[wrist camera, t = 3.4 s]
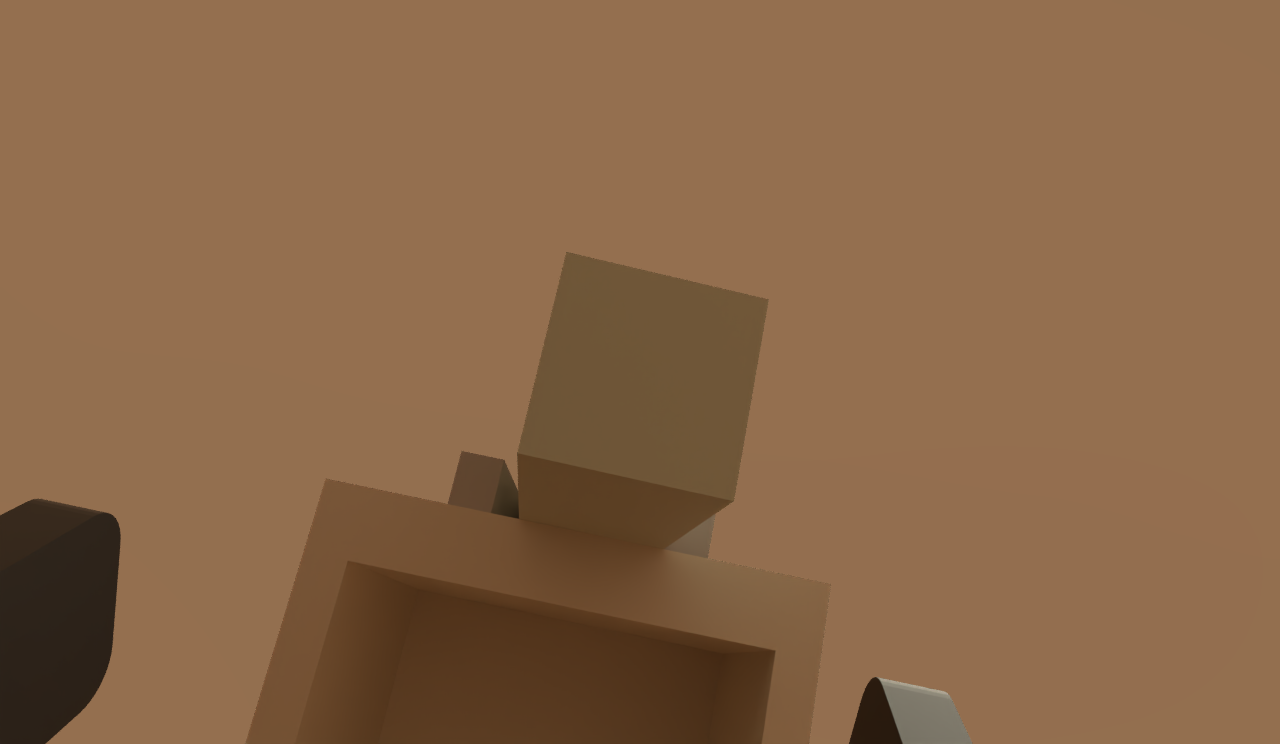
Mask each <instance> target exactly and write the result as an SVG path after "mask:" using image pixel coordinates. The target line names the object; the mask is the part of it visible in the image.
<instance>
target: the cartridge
mask: <svg viewBox="0 0 1280 744" xmlns="http://www.w3.org/2000/svg"><path fill="white" fill-rule="evenodd" d="M767 305H768V299H764V298H760V297H756V296H751V295H747V294H743V293H739V292H735V291H730V290H726V289H722V288H717V287H713V286H709V285H705V284H700V283H696V282H692V281H688V280H683V279H679V278H674V277H671V276H666V275H662V274H658V273H653V272H649V271H645V270H641V269H637V268H632V267H628V266H624V265H620V264H615V263H611V262H607V261H603V260H598V259H594V258H590V257H585V256H581V255H577V254H573V253H568V252H566V256H565V260H564V264H563V268H562V272H561V276H560V280H559V285H558V289H557V293H556V297H555V301H554V306H553V309H552V313H551V317H550V321H549V325H548V330H547V334H546V338H545V342H544V346H543V350H542V354H541V358H540V362H539V366H538V370H537V375H536V379H535V383H534V387H533V391H532V395H531V399H530V403H529V407H528V411H527V415H526V420H525V424H524V428H523V432H522V436H521V440H520V444H519V449H518V452H517V459H518V460H517V461H518V498H519V519H522V520H526V521H531V522H536V523H541V524H545V525H550V526H555V527H560V528H565V529H569V530H574V531H579V532H584V533H589V534H593V535H598V536H603V537H608V538H613V539H617V540H622V541H627V542H632V543H636V544H641V545H646V546H651V547H656V548H660V549H665V548H666V547H668V546H669V545H671V544H672V543H674V542H675V541H677V540H678V539H679V538H681V537H682V536H684V535H685V534H687V533H688V532H690V531H691V530H693V529H694V528H696V527H697V526H698V525H700V524H701V523H703V522H704V521H706V520H707V519H709V518H710V517H712V516H713V515H714V514H716V513H717V512H719V511H720V510H722V509H723V508H725V507H726V506H727V505H729V504H730V503H732V502H733V501H734V497H735V491H736V486H737V480H738V474H739V468H740V462H741V457H742V450H743V444H744V439H745V433H746V428H747V422H748V416H749V410H750V405H751V399H752V393H753V387H754V381H755V375H756V370H757V364H758V358H759V352H760V347H761V341H762V335H763V329H764V323H765V318H766V312H767Z"/></svg>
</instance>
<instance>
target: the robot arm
mask: <svg viewBox="0 0 1280 744" xmlns="http://www.w3.org/2000/svg"><path fill="white" fill-rule="evenodd" d="M119 554H120V528H119V524H118V522H117V520H116V518H115V517H114V516H113V515H111V514H109V513H105V512H100V511H95V510H91V509H86V508H81V507H76V506H72V505H67V504H62V503H57V502H52V501H48V500H43V499H33V500H31V501H28V502H26V503H24V504H22V505H20V506H18V507H16V508H14V509H12V510H10V511H8V512H6V513H4V514H2V515H0V744H45V743H47V742H48V741H49V740H50V739H51V738H52V737H53V736H54V735H56V734H57V733H58V732H59V731H60V730H61V729H62V728H63V727H64V726H66V725H67V724H68V723H69V722H70V721H71V720H72V719H73V718H74V717H76V716H77V715H78V714H79V713H80V712H81V711H82V710H83V709H84V708H85V707H86V706H87V704H88V703H89V702H90V701H91V699H92V698H93V696H94V695H95V693H96V691H97V690H98V688H99V686H100V684H101V682H102V680H103V678H104V675H105V673H106V670H107V667H108V664H109V661H110V656H111V652H112V643H113V630H114V618H115V604H116V592H117V579H118V566H119ZM849 744H972V742H971V740H970V738H969V735H968V733H967V731H966V729H965V727H964V725H963V723H962V720H961V718H960V716H959V714H958V712H957V710H956V708H955V706H954V703H953V701H952V699H951V697H950V696H949V695H948V694H947V693H946V692H943V691H939V690H934V689H930V688H925V687H920V686H915V685H911V684H906V683H901V682H897V681H892V680H887V679H882V678H878V677H875V678H872V679H871V680H870V682H869V683H868V685H867V686H866V688H865V691H864V693H863V696H862V700H861V703H860V706H859V710H858V713H857V717H856V721H855V724H854V728H853V731H852V735H851V738H850V742H849Z"/></svg>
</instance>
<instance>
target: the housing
mask: <svg viewBox="0 0 1280 744" xmlns="http://www.w3.org/2000/svg"><path fill="white" fill-rule="evenodd" d="M714 520H715V514H714V515H713V516H712V517H710V518H709V519H707V520H706V521H704V522H703V523H701V524H700V525H698V526H697V527H696V528H694V529H693V530H691V531H690V532H688V533H687V534H685V535H684V536H682V537H681V538H679V539H678V540H677V541H675V542H674V543H672V544H671V545H669V546H668V547H666V548H665V549H660V548H656V547H651V546H646V545H641V544H636V543H632V542H627V541H622V540H617V539H613V538H608V537H603V536H598V535H593V534H589V533H584V532H579V531H574V530H569V529H565V528H560V527H555V526H550V525H545V524H541V523H536V522H531V521H526V520H522V519H519V498H518V490H517V488H516V486H515V483H514V481H513V479H512V477H511V474H510V472H509V470H508V468H507V465H506V463H505V461H504V460H502V459H497V458H493V457H487V456H483V455H478V454H473V453H468V452H464V451H462V452H461V456H460V459H459V463H458V467H457V471H456V475H455V478H454V483H453V486H452V490H451V494H450V497H449V501H448V504H445V503H440V502H435V501H431V500H425V499H421V498H416V497H411V496H407V495H402V494H397V493H392V492H388V491H383V490H378V489H373V488H368V487H364V486H359V485H354V484H349V483H345V482H340V481H335V480H330V479H326V480H325V483H324V486H323V489H322V493H321V496H320V499H319V502H318V506H317V509H316V512H315V516H314V519H313V522H312V525H311V529H310V532H309V535H308V539H307V542H306V545H305V549H304V552H303V555H302V559H301V562H300V565H299V568H298V572H297V575H296V578H295V582H294V585H293V589H292V591H291V595H290V598H289V601H288V605H287V609H286V611H285V615H284V618H283V621H282V624H281V628H280V631H279V634H278V638H277V641H276V644H275V648H274V651H273V654H272V657H271V661H270V664H269V667H268V671H267V674H266V677H265V680H264V684H263V687H262V690H261V694H260V697H259V701H258V704H257V707H256V710H255V713H254V717H253V720H252V724H251V727H250V730H249V733H248V737H247V740H246V743H245V744H809V739H810V731H811V724H812V718H813V710H814V703H815V695H816V688H817V682H818V673H819V667H820V660H821V653H822V645H823V638H824V630H825V623H826V616H827V609H828V602H829V595H830V588H831V584H828V583H823V582H818V581H813V580H809V579H804V578H799V577H794V576H790V575H785V574H780V573H775V572H770V571H765V570H761V569H756V568H751V567H747V566H742V565H737V564H732V563H727V562H723V561H717V560H713V559H708V553H709V547H710V542H711V536H712V531H713V525H714Z"/></svg>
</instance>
